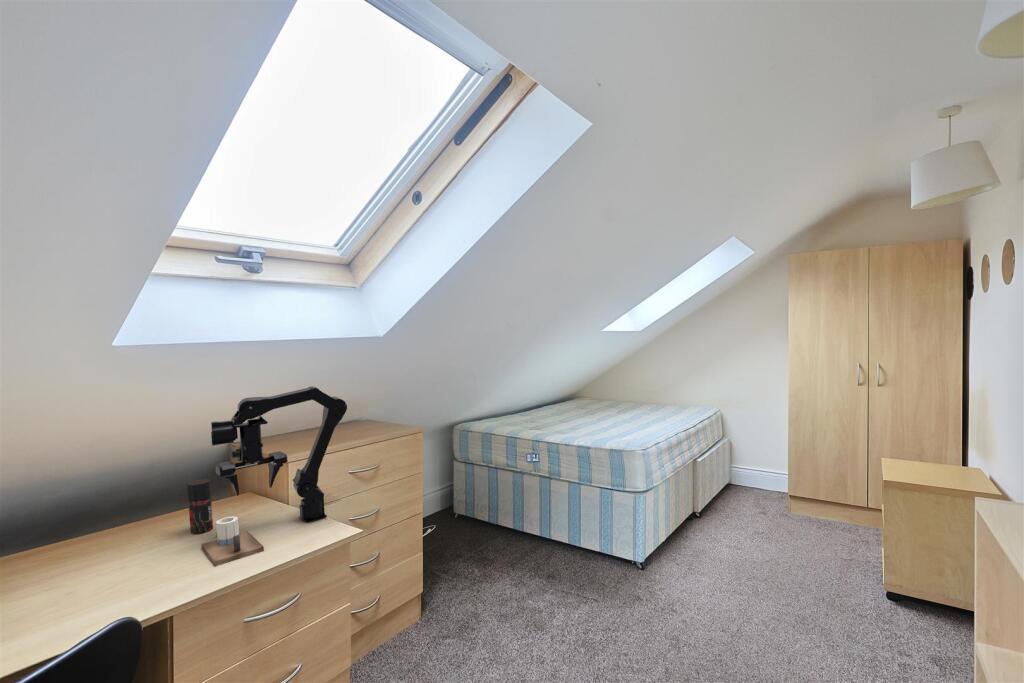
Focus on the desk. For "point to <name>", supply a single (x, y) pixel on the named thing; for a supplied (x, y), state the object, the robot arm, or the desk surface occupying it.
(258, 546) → the pin board
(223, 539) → the sleeve
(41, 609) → the desk surface
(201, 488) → the deodorant
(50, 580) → the desk surface
